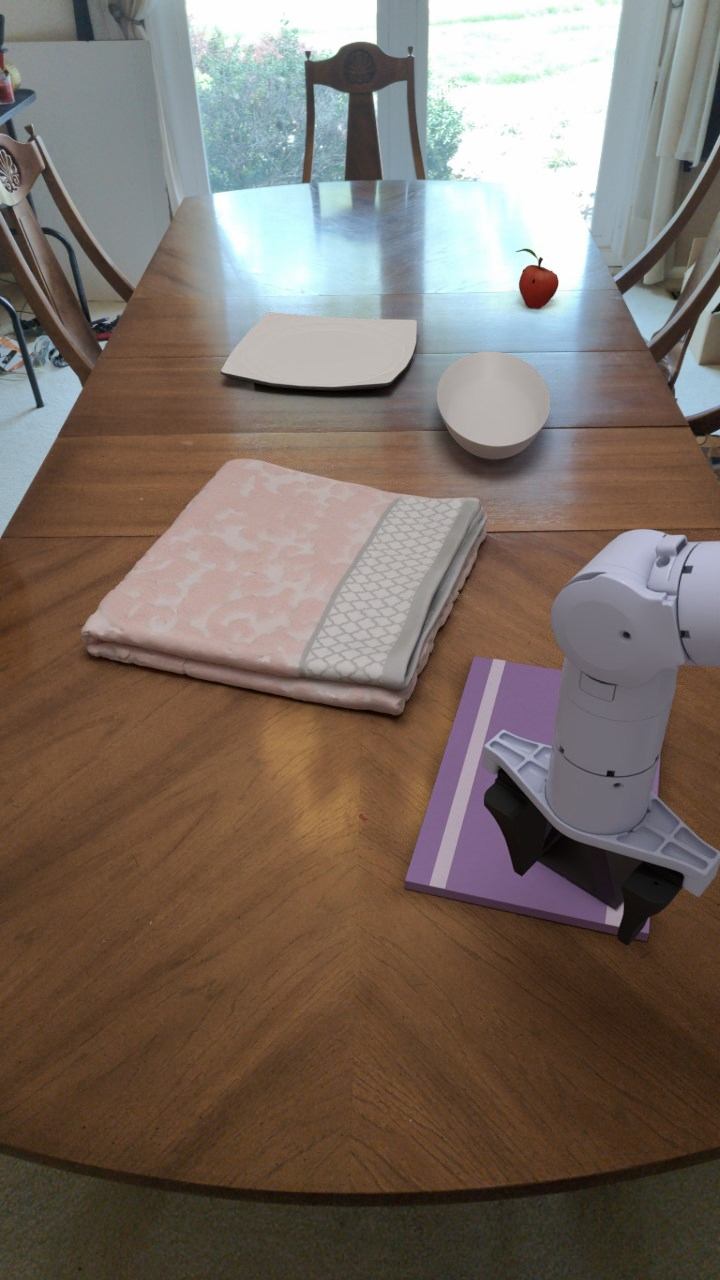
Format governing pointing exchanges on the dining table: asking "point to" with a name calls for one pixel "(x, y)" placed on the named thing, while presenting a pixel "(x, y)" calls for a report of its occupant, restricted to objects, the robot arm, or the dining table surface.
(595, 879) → the phone stand
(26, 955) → the dining table surface
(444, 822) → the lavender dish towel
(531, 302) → the apple
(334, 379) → the plate
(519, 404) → the bowl
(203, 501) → the towel
